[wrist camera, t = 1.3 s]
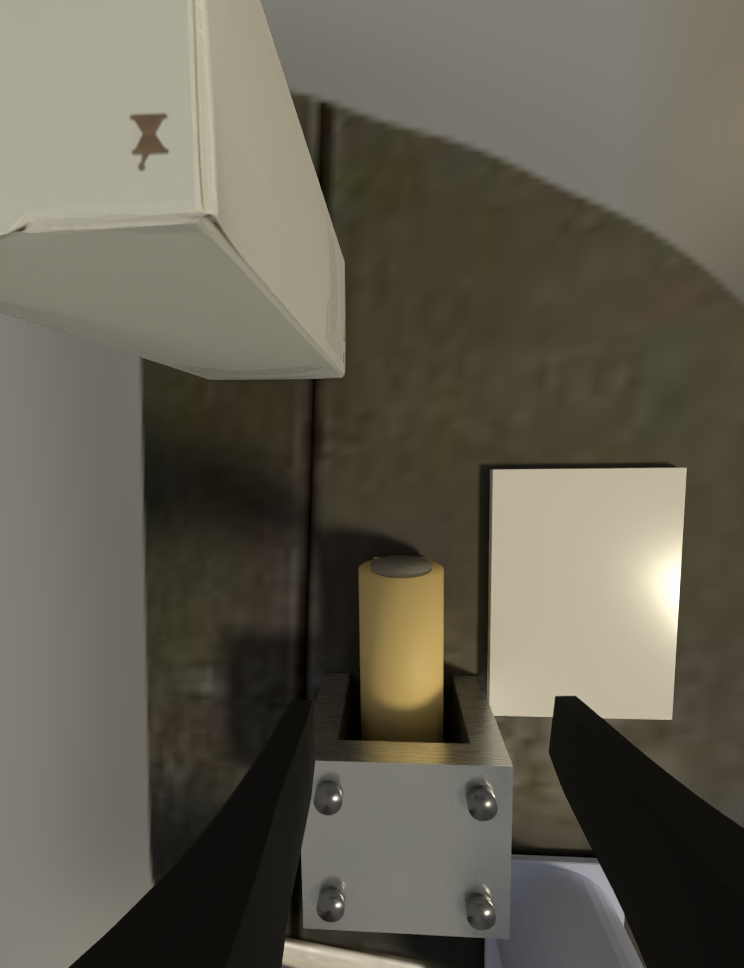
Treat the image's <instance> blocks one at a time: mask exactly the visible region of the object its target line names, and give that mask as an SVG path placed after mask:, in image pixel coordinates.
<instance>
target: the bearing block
mask: <svg viewBox="0 0 744 968" xmlns="http://www.w3.org/2000/svg"><path fill="white" fill-rule="evenodd" d="M313 718H314V736H315V754H316V758H315V768H314V778H313V787H312V796H311V802H310V807H309V812H308V817H307V822H306V828H305V833H304V838H303V843H302V848H301V864H302V896H303V928H309V929H328V930H346V931H365V932H383V933H402V934H420V935H438V936H457V937H475V938H494V939H510V891H511V842H512V793H513V765H512V763H511V760H510V757H509V755H508V752H507V749H506V747H505V744H504V742H503V739H502V736H501V734H500V731H499V728H498V726H497V723H496V721H495V718H494V715H493V713H492V710H491V707H490V705H489V702H488V700H487V697H486V694H485V692H484V689H483V686H482V684H481V681H480V678H479V676H469V675H452V743H423V742H387V741H351V704H350V673H325V674H324V677H323V680H322V684H321V687H320V690H319V693H318V697H317V700H316V703H315V707H314V710H313Z"/></svg>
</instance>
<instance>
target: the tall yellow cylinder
mask: <svg viewBox="0 0 744 968" xmlns="http://www.w3.org/2000/svg"><path fill="white" fill-rule="evenodd" d="M358 571H359V633H360V696H361V741H387V742H423V743H443V652H444V569H443V567H442V566H441V565H440V564H438V563H436V562H434V561H431V560H427V558H426V557H417V556H409V555H391V556H383V557H374V559H373V560H369V561H367V562H364V563H363V564H361V565H360V566H359V569H358Z"/></svg>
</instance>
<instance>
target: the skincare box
mask: <svg viewBox="0 0 744 968" xmlns="http://www.w3.org/2000/svg"><path fill="white" fill-rule="evenodd" d="M0 312H1V313H3V314H7V315H10V316H13V317H16V318H19V319H23V320H25V321H29V322H32V323H35V324H38V325H41V326H45V327H48V328H52V329H54V330H57V331H60V332H64V333H67V334H70V335H73V336H76V337H80V338H82V339H85V340H88V341H92V342H95V343H98V344H101V345H104V346H107V347H110V348H113V349H117V350H120V351H123V352H126V353H129V354H132V355H135V356H138V357H142V358H145V359H148V360H151V361H154V362H158V363H161V364H164V365H167V366H170V367H173V368H176V369H179V370H182V371H185V372H188V373H191V374H194V375H197V376H200V377H203V378H206V379H213V380H257V379H320V378H341V377H343V376H344V374H345V262H344V259H343V256H342V253H341V250H340V247H339V244H338V241H337V237H336V235H335V231H334V228H333V225H332V222H331V219H330V216H329V213H328V210H327V206H326V203H325V200H324V197H323V194H322V191H321V188H320V184H319V181H318V178H317V175H316V172H315V169H314V166H313V163H312V160H311V157H310V154H309V151H308V148H307V145H306V142H305V138H304V135H303V132H302V129H301V126H300V123H299V120H298V117H297V113H296V110H295V107H294V104H293V101H292V98H291V96H290V92H289V89H288V86H287V82H286V79H285V76H284V74H283V71H282V68H281V64H280V62H279V58H278V55H277V52H276V49H275V46H274V43H273V40H272V36H271V33H270V30H269V27H268V24H267V21H266V18H265V15H264V12H263V9H262V5H261V2H260V0H0Z"/></svg>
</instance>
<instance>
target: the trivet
mask: <svg viewBox="0 0 744 968" xmlns="http://www.w3.org/2000/svg"><path fill="white" fill-rule="evenodd" d="M686 470H687V468H682V467H657V468H556V469H490V509H489V581H488V652H487V700H488V702H489V705H490V707H491V710H492V713H493V715H494V716H534V717H553V711H554V702H555V696H577V697H578V698H579V699H580V700H581V701H583V702H584V703H585V704H586V705H587V706H589V707H590V708H591V709H592V710H593V711H594V712H596V713H597V714H598V715H599V716H600V717H601V718H618V719H661V720H672V710H673V693H674V676H675V659H676V642H677V624H678V607H679V590H680V573H681V556H682V538H683V521H684V504H685V487H686Z"/></svg>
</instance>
